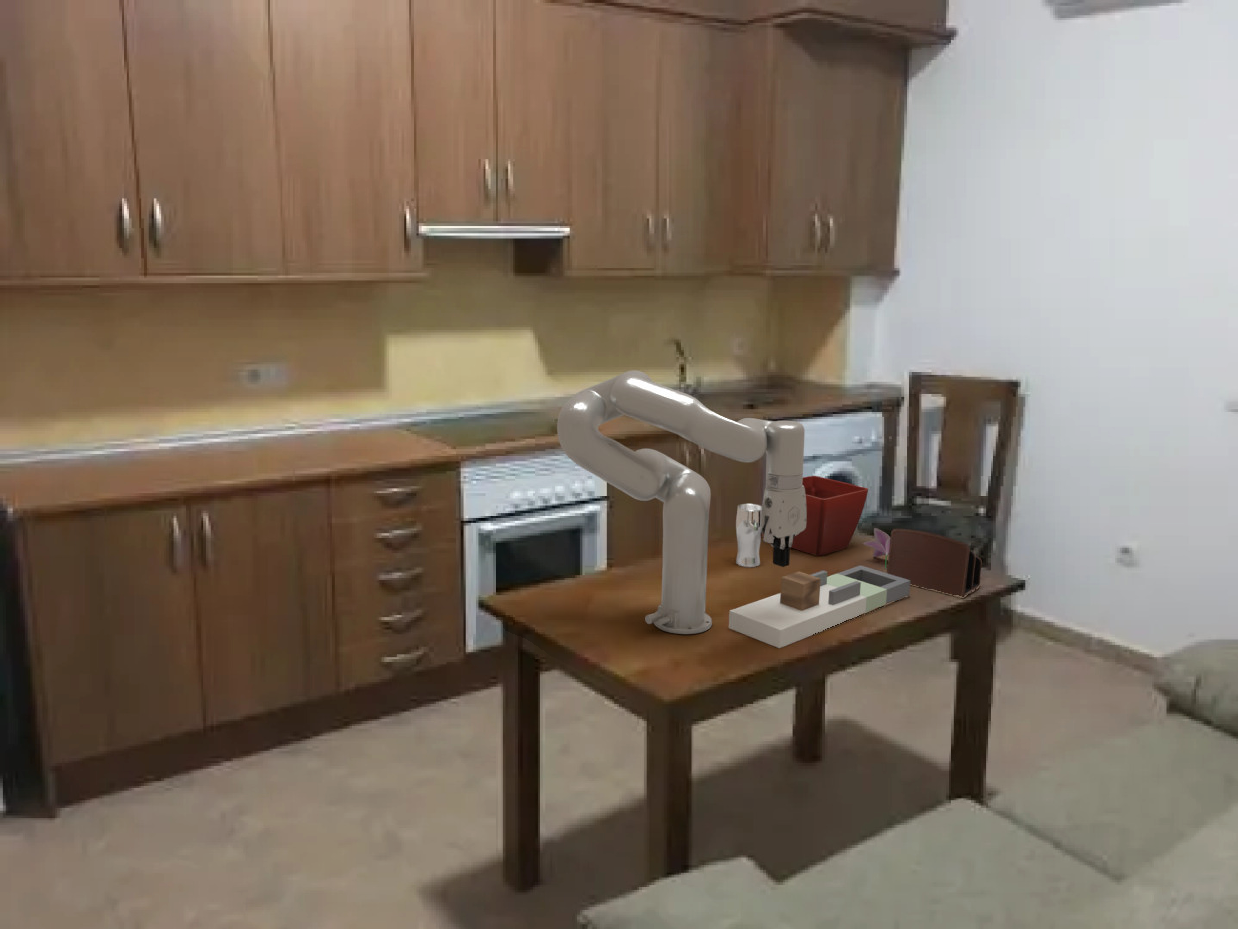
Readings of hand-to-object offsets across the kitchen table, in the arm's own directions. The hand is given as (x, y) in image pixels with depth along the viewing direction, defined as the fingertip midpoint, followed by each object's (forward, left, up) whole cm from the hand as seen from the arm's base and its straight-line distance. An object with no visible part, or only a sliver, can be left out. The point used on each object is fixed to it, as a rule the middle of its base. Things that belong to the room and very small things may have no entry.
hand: (780, 564), depth 222 cm
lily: (+57, +11, -15) cm, 60 cm away
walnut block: (+8, 0, -11) cm, 13 cm away
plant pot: (+54, +31, -15) cm, 64 cm away
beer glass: (+29, +33, -15) cm, 47 cm away
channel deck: (+16, 0, -15) cm, 22 cm away
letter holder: (+52, -5, -15) cm, 55 cm away
